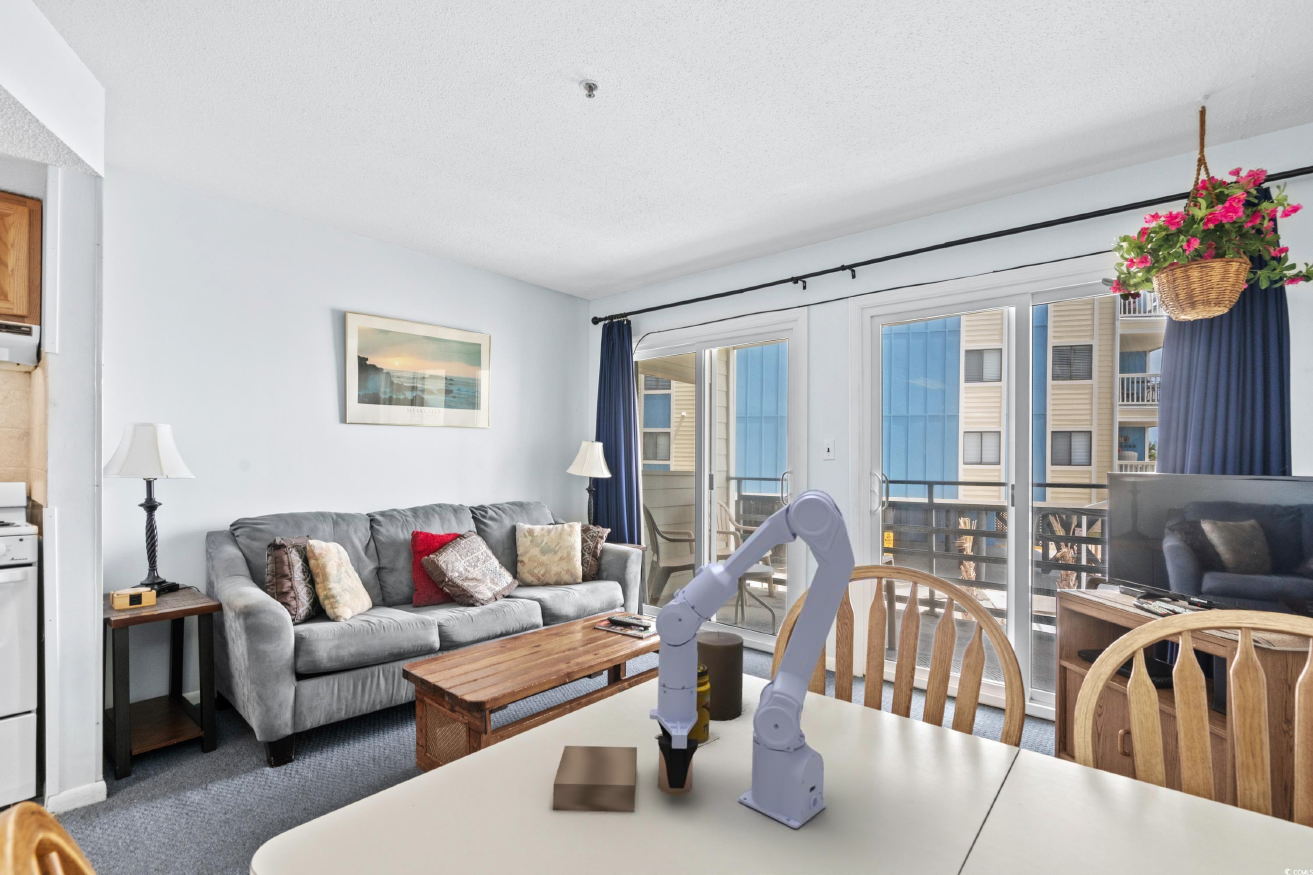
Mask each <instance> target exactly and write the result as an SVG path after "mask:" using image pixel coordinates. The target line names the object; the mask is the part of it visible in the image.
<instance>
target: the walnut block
mask: <svg viewBox="0 0 1313 875" xmlns="http://www.w3.org/2000/svg"><path fill="white" fill-rule="evenodd" d="M637 760H638V747H637V746H599V745H598V746H593V745H592V746H591V745H590V746H589V745H564V747H563V752H562V754H561V758H560V761H559V765H558V768H557V770H556V775H555V777H554V781H553V792H552V793H553V795H552V799H553V800H552V801H553V802H552V811H562V812H563V811H567V812H569V811H571V812H572V811H573V812H577V811H578V812H605V813H606V812H613V813H617V812H619V813H635V804H636V803H635V802H636V785H637V767H638V766H637V763H638V762H637Z"/></svg>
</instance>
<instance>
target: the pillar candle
mask: <svg viewBox="0 0 1313 875" xmlns="http://www.w3.org/2000/svg"><path fill="white" fill-rule="evenodd" d="M696 633H697V632H696ZM697 651H698V663H700V664H703V665H705V666H706V667H707V668H708V682H709V684H710V711H709V720H713V721H725V720H733V719H736V718H738V717H740V716H741V715H742V713H743V683H744V682H743V679H744V678H743V677H744V676H743V675H744V674H743V673H744V638H743V636H741V635H740V634H736V633H733V632H729V631H719V630H717V631H716V630H715V631H712V630H711V631H703V632H698V633H697Z"/></svg>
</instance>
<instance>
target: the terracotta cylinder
mask: <svg viewBox="0 0 1313 875" xmlns="http://www.w3.org/2000/svg"><path fill="white" fill-rule="evenodd" d="M693 762H694V756H693V757H692V759H691V762H690V765H689V769H688V774H687V779H686V783H685V786H684V788H683V789H677V788H669V784H668V779H667V771H666V764H665V760H664V757H663V754H662V752H661V750H660V748H659V747H658V771H657V773H658V776H657V777H658V778H657V783H658V784H657V785H658V786H657V787H658V789H659V790H660V791H662V792H663V793H665V794H668V795H673V796H675V795H676V796H677V795H680V796H681V795H684V794H687V793H689V792H690V791H691V790H692V789H693V775H694V774H693V771H694V767H693V766H694V763H693Z"/></svg>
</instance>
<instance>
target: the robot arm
mask: <svg viewBox="0 0 1313 875" xmlns="http://www.w3.org/2000/svg"><path fill="white" fill-rule="evenodd" d="M797 537H798V538H800V539H801V540H802V541H803V542H804V543H805V544H806V545H807V546H808V547H809V550H810V551H811V553H812V555H813V557H814V559H815V561H816V563H817V565H818V566H817V568H816V570H815V572H814V576H813V579H812V581H811V583H810V585H809V586H810V587H809V588H808V590H807V593H806V596H805V599H804V602H803V605H802V607H801V610H800V612H799V614H798V617H797V620H796V622H795V624H794V627H793V630H792V632H791V635H790V637H789V640H788V643H787V646H786V648H785V650H784V653H783V656H782V658H781V661H780V663H779V665H778V667H777V670H776V672H775V675H774V677H773V678H772V679H771V680H770V681H769V682H768V683H767V684H766V685H765V686H764V687H763V688H762V690H761V692H760V695H759V703H758V706H757V708H756V710H755V712H754V715H753V720H752V726H753V731H752V755H751V756H752V757H751V760H752V762H751V789H750V790H748V791H746V792H744V793H743V794H741V795H740V796H738V801H739V803H742V804H745V805H746V806H749V808H752V809H753V810H756V811H758V812H760V813H762V814H764V815H765V816H768V817H771V818H772V819H775V820H776V821H779V822H780V823H781V824H785V825H786V826H788V827H791V828H792V829H798V828H800V827H801V826H802V825H803V824H805V823H806V822H807V821H809V820H811V819H812V818H813V817H814V816H816V815H817V814H818V813H819V812H821V811H822V810H823V809H824V808H826V806H827V803H826V802H825V801H824V781H825V780H824V779H825V778H824V775H825V774H824V773H825V772H824V771H825V767H824V766H825V764H824V759H823V756H822V754H821V753H820V752H818V751H817V750H815V749H814V748H812V747H811V746H810V745H809V744H808V743H807V741H806V737H805V736H806V735H805V733H804V732H803V730H802V729H801V719H802V713H803V709H804V703H805V700H806V695H807V693H808V689H809V685H810V683H811V681H812V677H813V674H814V672H815V670H816V667H817V664H818V662H819V659H820V657H821V654H822V652H823V649H824V647H825V644H826V643H827V642H826V641H827V639H828V636H829V633H830V631H831V629H832V628H833V627H832V626H833V625H834V624H833V623H834V621H835V618H836V616H837V614H838V611H839V608H840V606H841V603H842V600H843V599H844V598H843V597H844V595H845V594H846V590H847V588H848V585H849V583H850V581H851V579H852V575H853V572H854V571H855V566H856V560H855V557H854V552H853V548H852V544H851V540H850V536H849V532H848V530H847V525H846V521H845V518H844V514H843V512H842V511H841V509H840V508H839V506H838V505H837V503H836V502H835V500H834V498H832V496H831V495H830V494H829V493H827V492H825V491H823V490H820V489H808V490H805V491H803V492H801V493H800V494H799V495H797V497H796V498H795V500H793V502H788V503H787V504H786V505H784V506H782V508H780V509H778V510H777V511H775V512H774V513H773V514H771V515H770V516H769V517H767V518H766V519H765V520H764V522H763V523H762V524H760V525H759V527H758V528H757V529H755V530H754V532H752V534H751V535H750V536H748V538H746V540H745V541H744V542H743V543H742V544H741V545H740V546H739V547H738V548H737V549H736V550H734V552H733V553H732V554H731V555H730V556H729V557H728V558H727V559H726V560H725V561H724V562H710V563H709V564H707V565H706V566H705V565H703V564H702V565H701V566H699V567H698V568H697V569H696V570H695V574H696V576H695V577H694V578H692V580H690V581H689V582H688V583H687V584H686V586H684V588H682V589H680V588H678V589H677V590H676V591H675V592H674V593H673V597H674V599H672V600H670V601H669V602H668V603H667V604H665V605H663V606H662V607H661V609H660V611H659V612H658V614H657V615H656V619H655V630H656V633H657V634H658V636H659V650H658V673H657V674H658V676H657V677H658V680H657V708H655V709H652V708H651V709H650V710H649V719H650V720H656V721H657V723H658V725H659V727H660V728H659V729H660V731H661V734H663V736H658V738H657V742H658V749H659V748H660V750H661V752H662V754H663V757H664V760H665V764H666V771H667V779H668V784H669V788H677V789H683V788H684V786H685V783H686V779H687V774H688V769H689V765H690V762H691V759H692V757H693V758H694V755H695V753H696V751H697V750H698V748H699V746H698V739H687V736H688V733H689V732H690V730H691V729H692V727H693V726H694V724H695V723H696V721H697V719H698V713H697V711H696V708H697V664H698V651H697V631H699V630H700V628H701V626H702V624H703V623H706V622H707V621H710V619H711V618H712V617H714V616H715V615H716V614H717V612H719V611H720V610H721V609H722V608H723V607H724V606H725V605H726V604H727V603H728V602H730V600H731V599H732V598H733V597H735V596H736V594H737V593H738V586H739V584H738V581H739V579H740V578H741V577H742V576H743V575H744V574H745V573H746V572H747V571H749V570H750V569H751V568H752V567H753V566H754V565H756V564H757V562H759V561H760V560H761V559H762V558H763V557H764V556H765V555H767V553H769V552H770V551H771V550H772V549H773V548H774V547H775V546H777V545H781V544H782V545H783V544H787V543H794V542H796V540H797Z"/></svg>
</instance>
